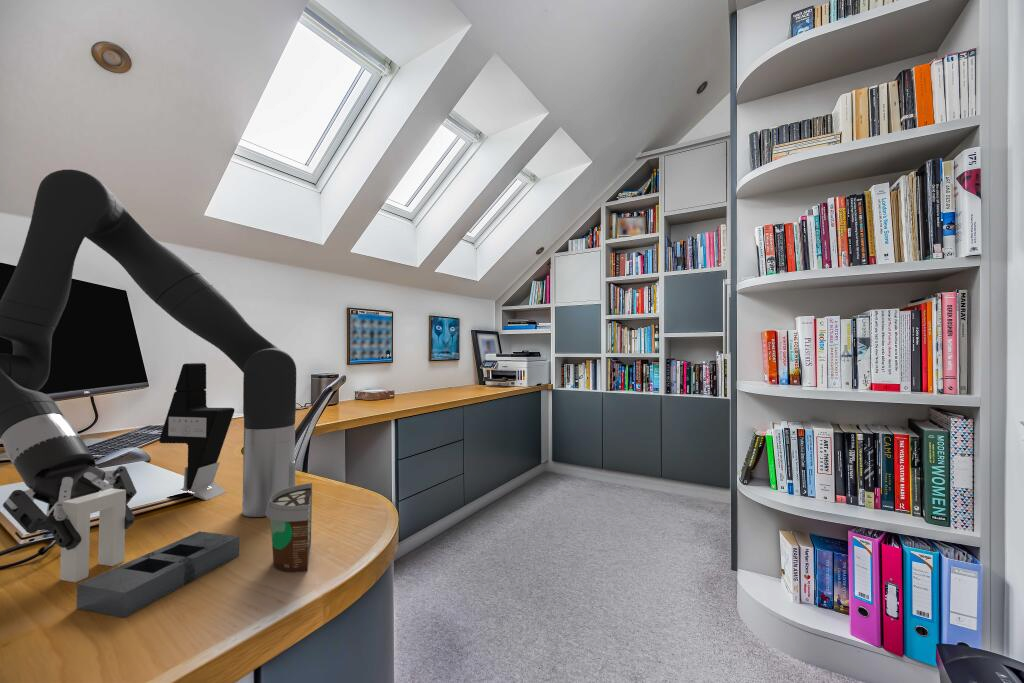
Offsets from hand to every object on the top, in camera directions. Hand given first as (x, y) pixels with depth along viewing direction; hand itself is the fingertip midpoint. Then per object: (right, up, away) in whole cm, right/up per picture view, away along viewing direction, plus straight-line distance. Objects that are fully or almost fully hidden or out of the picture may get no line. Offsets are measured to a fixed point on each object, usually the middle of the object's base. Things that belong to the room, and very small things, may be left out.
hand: (103, 535), depth 61 cm
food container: (+26, -6, +3) cm, 26 cm away
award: (-12, -6, +33) cm, 36 cm away
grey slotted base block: (+11, -5, -2) cm, 13 cm away
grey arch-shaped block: (-2, -5, 0) cm, 6 cm away
